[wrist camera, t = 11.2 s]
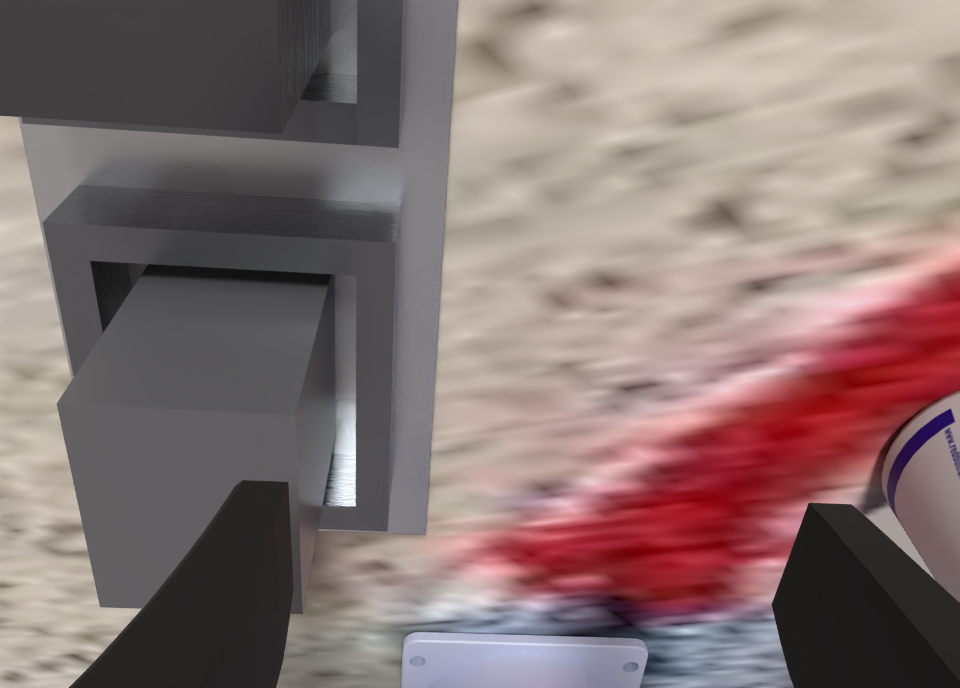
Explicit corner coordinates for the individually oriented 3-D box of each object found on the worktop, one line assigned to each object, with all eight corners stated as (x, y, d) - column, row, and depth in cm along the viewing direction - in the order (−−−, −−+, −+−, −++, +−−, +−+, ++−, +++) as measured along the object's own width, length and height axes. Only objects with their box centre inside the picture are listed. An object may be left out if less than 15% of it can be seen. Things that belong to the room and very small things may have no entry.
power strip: (426, 510, 26) (418, 724, 20) (112, 498, 25) (7, 715, 19) (478, -352, 15) (496, -452, 9) (-60, -408, 15) (-412, -552, 9)
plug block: (335, 432, 23) (302, 613, 18) (179, 424, 22) (100, 606, 17) (334, 260, 20) (295, 415, 15) (157, 249, 20) (57, 403, 15)
